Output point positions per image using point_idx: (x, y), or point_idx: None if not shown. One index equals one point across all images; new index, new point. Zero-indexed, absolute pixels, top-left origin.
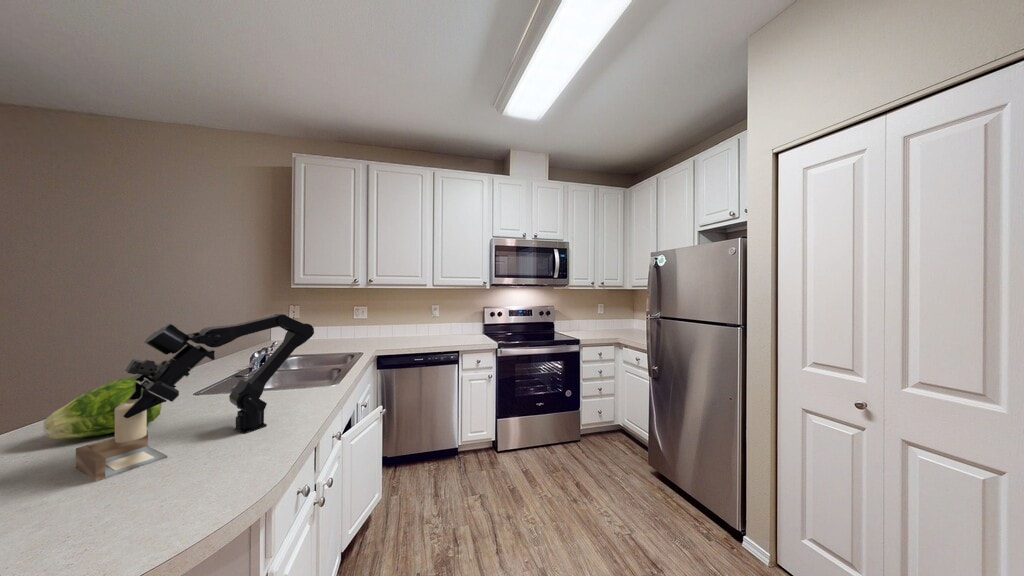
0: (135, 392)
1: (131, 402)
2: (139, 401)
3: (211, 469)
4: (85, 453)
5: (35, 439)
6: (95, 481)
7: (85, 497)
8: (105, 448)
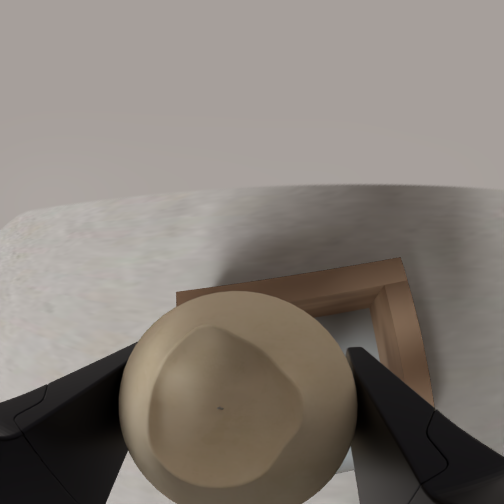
0: (423, 486)
1: (264, 421)
2: (18, 407)
3: None
4: (300, 276)
5: None
6: None
7: (121, 287)
8: (388, 342)
